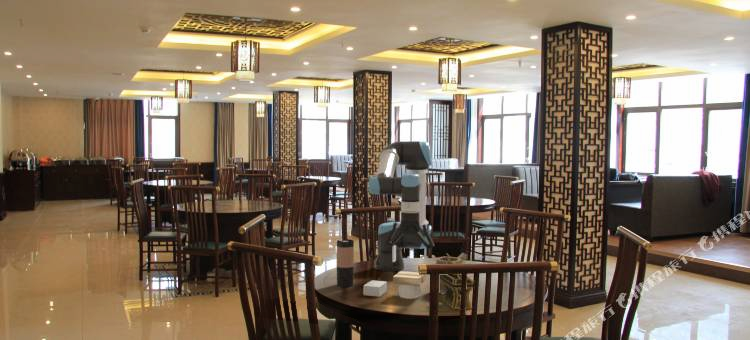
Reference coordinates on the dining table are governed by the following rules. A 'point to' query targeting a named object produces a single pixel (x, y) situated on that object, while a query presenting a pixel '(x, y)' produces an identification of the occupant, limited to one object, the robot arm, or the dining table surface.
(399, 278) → the lid
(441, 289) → the tankard
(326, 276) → the dining table surface
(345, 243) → the travel mug
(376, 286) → the white rectangular block
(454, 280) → the decorative box
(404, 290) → the bowl
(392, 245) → the robot arm
